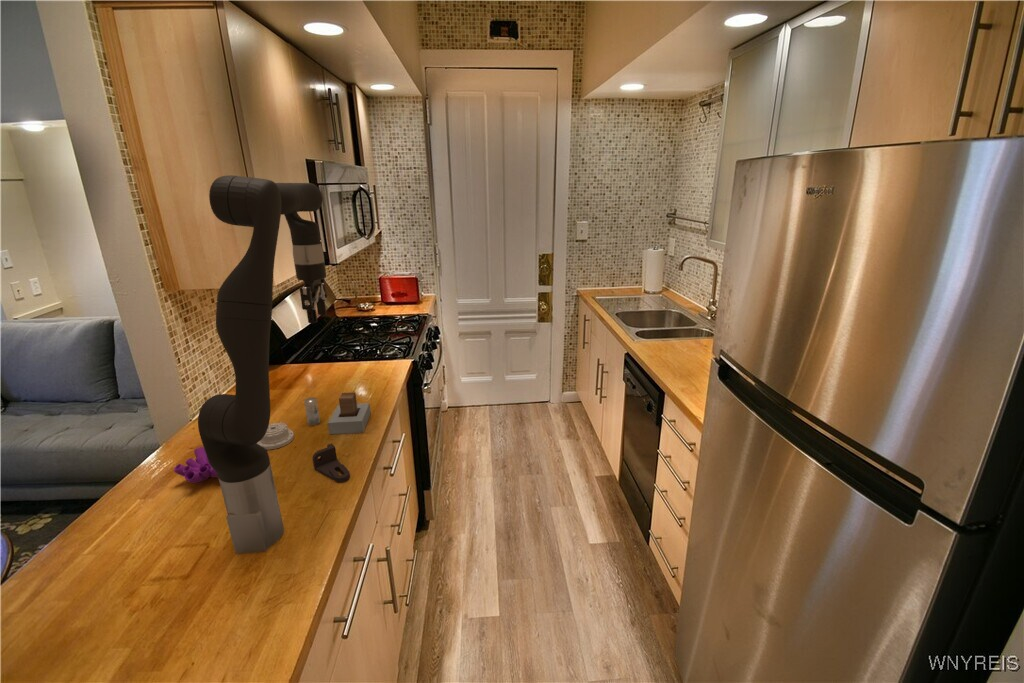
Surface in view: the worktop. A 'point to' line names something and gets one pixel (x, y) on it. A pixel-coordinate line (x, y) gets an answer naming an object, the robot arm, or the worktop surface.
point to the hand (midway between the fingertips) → (317, 318)
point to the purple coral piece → (196, 467)
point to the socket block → (349, 420)
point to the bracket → (330, 464)
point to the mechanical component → (276, 436)
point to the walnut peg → (348, 405)
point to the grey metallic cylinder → (312, 411)
